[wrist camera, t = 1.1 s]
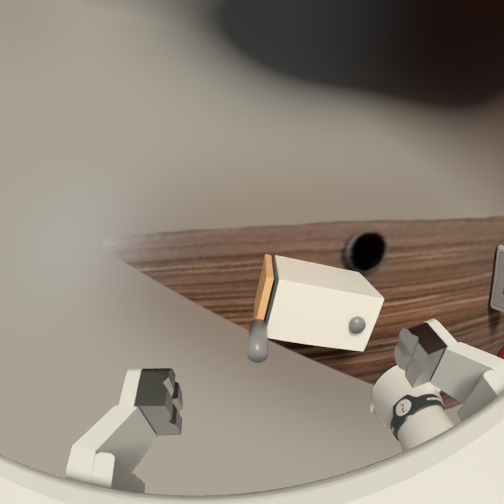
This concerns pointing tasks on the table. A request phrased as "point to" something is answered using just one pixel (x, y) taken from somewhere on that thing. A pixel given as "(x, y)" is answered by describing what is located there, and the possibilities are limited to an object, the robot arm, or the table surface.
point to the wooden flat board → (261, 314)
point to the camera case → (320, 305)
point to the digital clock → (498, 281)
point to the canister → (501, 353)
